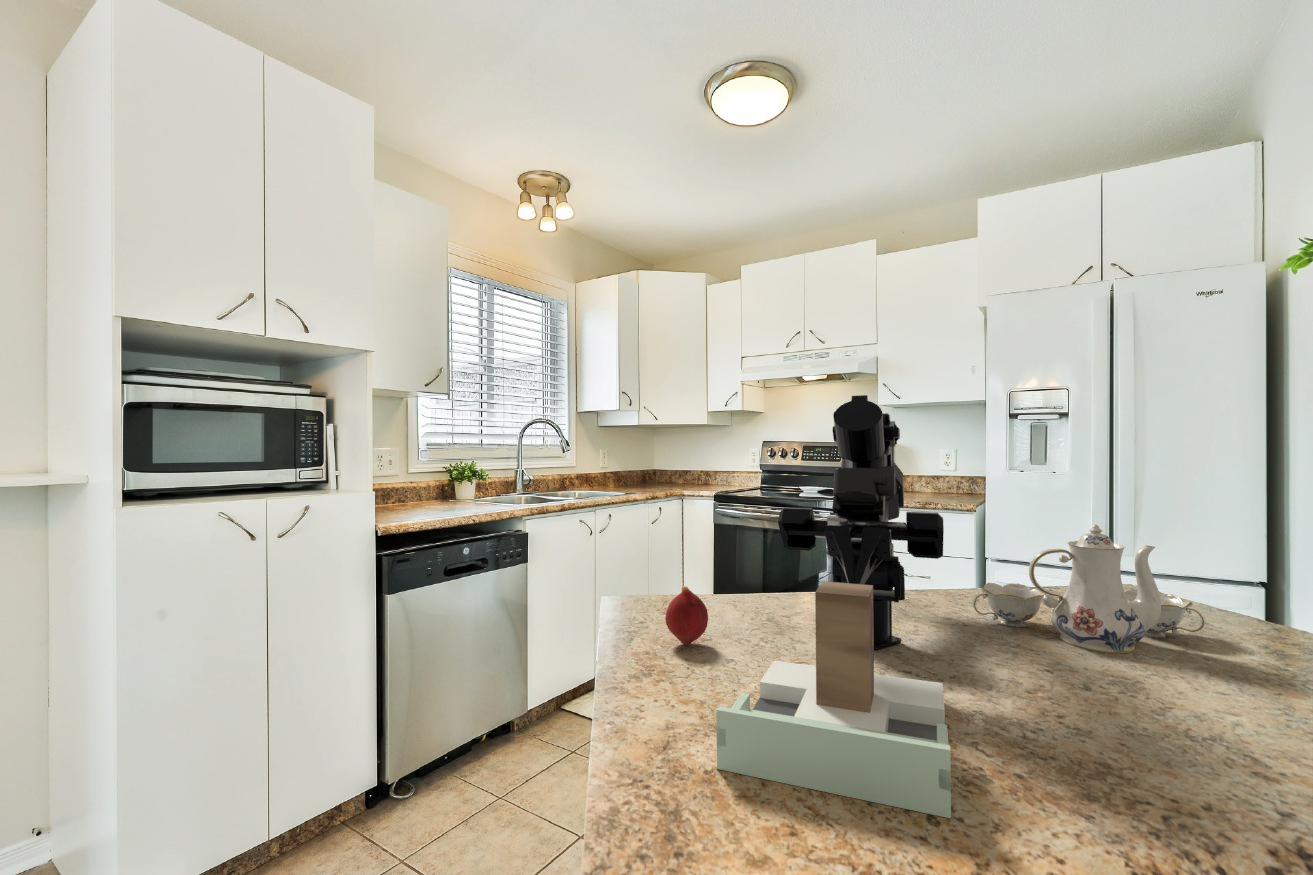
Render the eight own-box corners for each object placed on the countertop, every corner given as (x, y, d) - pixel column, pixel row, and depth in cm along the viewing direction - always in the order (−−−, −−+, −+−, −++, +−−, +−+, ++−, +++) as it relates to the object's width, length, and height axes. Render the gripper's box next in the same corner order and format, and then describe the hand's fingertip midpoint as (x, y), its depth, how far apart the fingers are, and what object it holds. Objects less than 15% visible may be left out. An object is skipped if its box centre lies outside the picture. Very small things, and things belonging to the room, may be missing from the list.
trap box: (774, 677, 73) (773, 634, 73) (942, 701, 66) (942, 654, 66) (716, 768, 53) (716, 709, 53) (951, 818, 46) (950, 750, 46)
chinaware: (1171, 636, 92) (1163, 524, 94) (1251, 664, 76) (1239, 527, 78) (966, 625, 98) (962, 520, 100) (1000, 649, 82) (995, 522, 84)
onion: (708, 638, 88) (708, 581, 88) (707, 652, 82) (707, 591, 82) (667, 637, 88) (667, 581, 88) (664, 651, 82) (663, 590, 83)
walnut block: (823, 685, 65) (822, 581, 65) (874, 693, 63) (873, 585, 63) (816, 704, 61) (815, 591, 61) (870, 712, 59) (869, 596, 59)
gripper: (780, 443, 79) (760, 544, 69) (942, 442, 71) (946, 556, 61) (792, 499, 86) (776, 598, 76) (941, 504, 79) (944, 614, 68)
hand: (854, 591), depth 70 cm, fingers closed
